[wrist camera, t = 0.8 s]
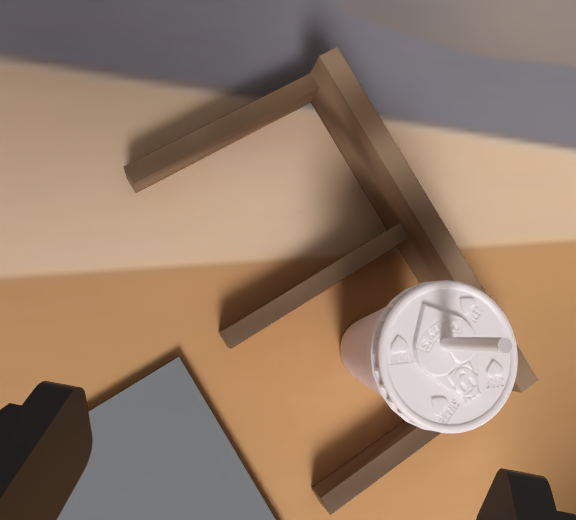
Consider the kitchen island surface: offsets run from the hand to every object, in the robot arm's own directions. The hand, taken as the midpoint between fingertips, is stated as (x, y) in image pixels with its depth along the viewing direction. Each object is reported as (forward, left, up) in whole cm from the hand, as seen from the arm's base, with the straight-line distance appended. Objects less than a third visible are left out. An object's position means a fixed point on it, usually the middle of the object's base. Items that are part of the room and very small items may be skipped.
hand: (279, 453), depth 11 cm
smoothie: (+4, +9, -20) cm, 22 cm away
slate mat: (+4, -6, -20) cm, 21 cm away
